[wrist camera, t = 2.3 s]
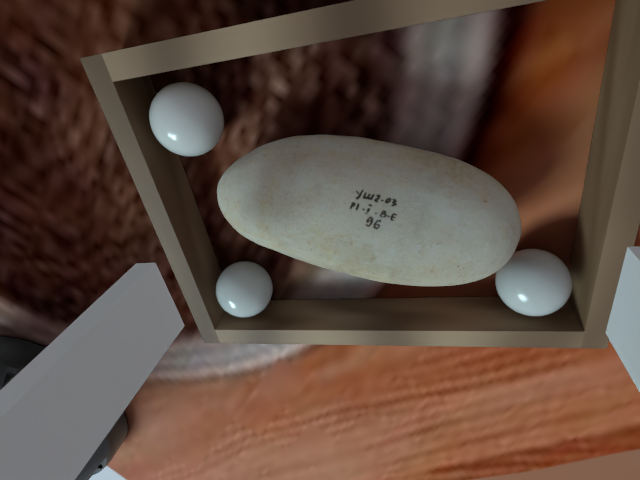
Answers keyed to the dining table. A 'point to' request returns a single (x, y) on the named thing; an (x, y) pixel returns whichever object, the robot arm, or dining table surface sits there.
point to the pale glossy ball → (244, 289)
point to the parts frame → (380, 313)
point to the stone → (372, 209)
